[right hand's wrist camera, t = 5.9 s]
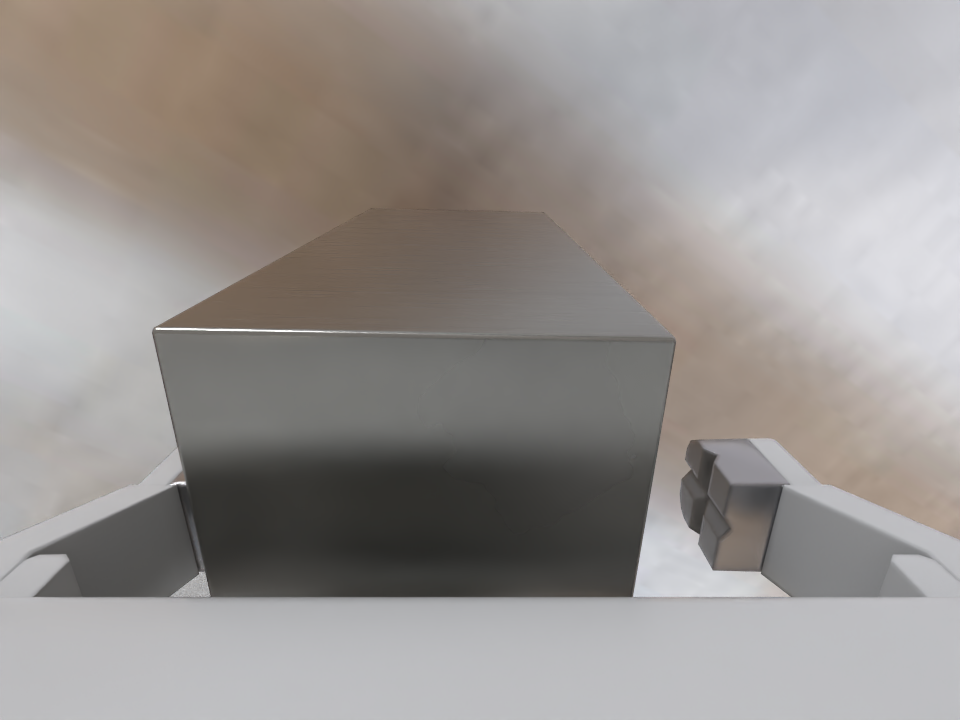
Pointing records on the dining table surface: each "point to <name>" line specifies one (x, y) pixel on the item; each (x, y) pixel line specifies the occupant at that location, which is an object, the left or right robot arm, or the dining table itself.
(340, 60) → the dining table surface
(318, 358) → the box
